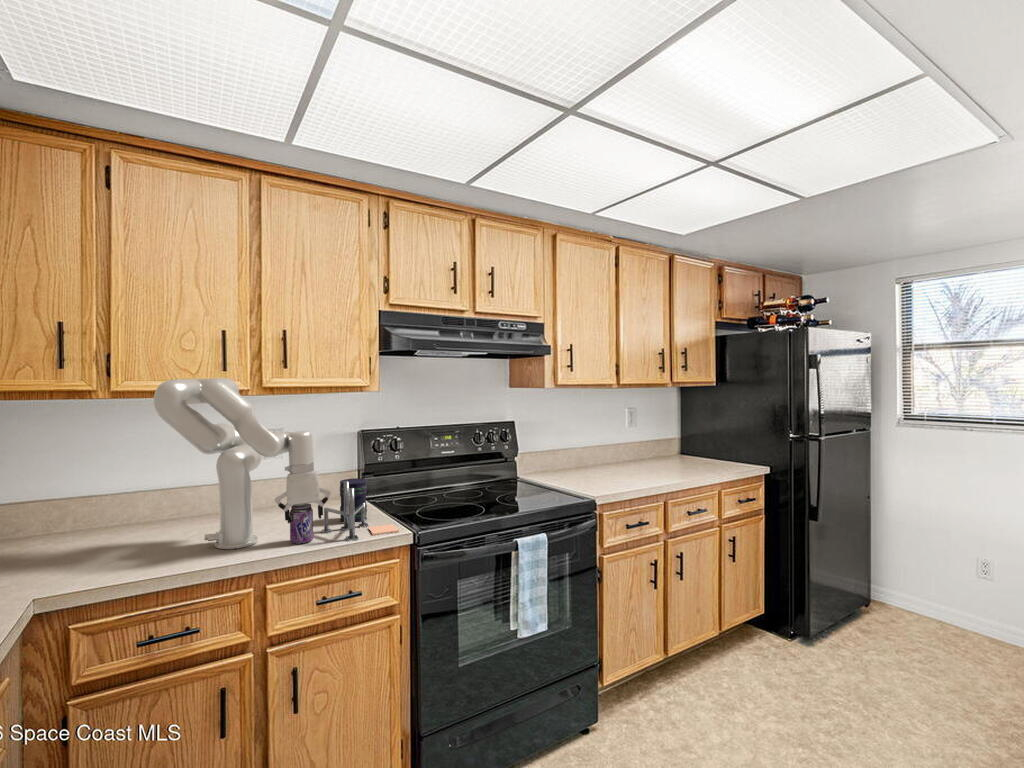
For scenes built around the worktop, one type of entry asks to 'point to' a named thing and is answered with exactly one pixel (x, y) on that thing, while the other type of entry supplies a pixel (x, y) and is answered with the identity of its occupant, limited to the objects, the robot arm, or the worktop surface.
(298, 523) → the beverage can
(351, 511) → the grey open angular frame
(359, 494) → the dark purple cylinder
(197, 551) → the worktop surface
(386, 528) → the plate
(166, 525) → the worktop surface
